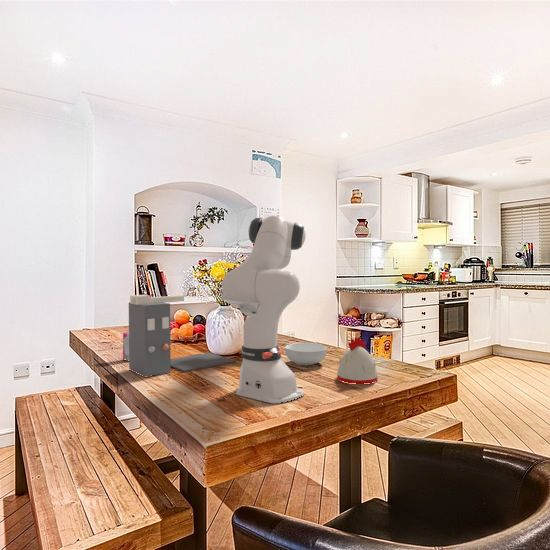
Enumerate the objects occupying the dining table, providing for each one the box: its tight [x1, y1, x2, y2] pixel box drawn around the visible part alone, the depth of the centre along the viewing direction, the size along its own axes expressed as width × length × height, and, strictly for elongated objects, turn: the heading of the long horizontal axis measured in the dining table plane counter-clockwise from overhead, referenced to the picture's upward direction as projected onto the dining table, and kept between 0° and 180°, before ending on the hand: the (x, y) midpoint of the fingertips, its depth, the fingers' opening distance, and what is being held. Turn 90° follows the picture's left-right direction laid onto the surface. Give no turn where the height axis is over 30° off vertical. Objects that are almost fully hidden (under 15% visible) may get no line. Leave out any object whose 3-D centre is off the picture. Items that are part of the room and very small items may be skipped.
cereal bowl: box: [284, 342, 328, 367], centre depth 171 cm, size 17×17×7 cm
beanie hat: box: [336, 336, 378, 384], centre depth 148 cm, size 14×14×15 cm
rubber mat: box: [171, 352, 236, 373], centre depth 172 cm, size 20×24×1 cm
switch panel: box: [128, 302, 172, 377], centre depth 158 cm, size 15×10×26 cm
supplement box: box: [122, 332, 129, 360], centre depth 177 cm, size 6×6×12 cm
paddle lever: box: [129, 294, 185, 305], centre depth 160 cm, size 6×20×3 cm, turn 132°
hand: (227, 291), depth 178 cm, fingers open, 8 cm apart
